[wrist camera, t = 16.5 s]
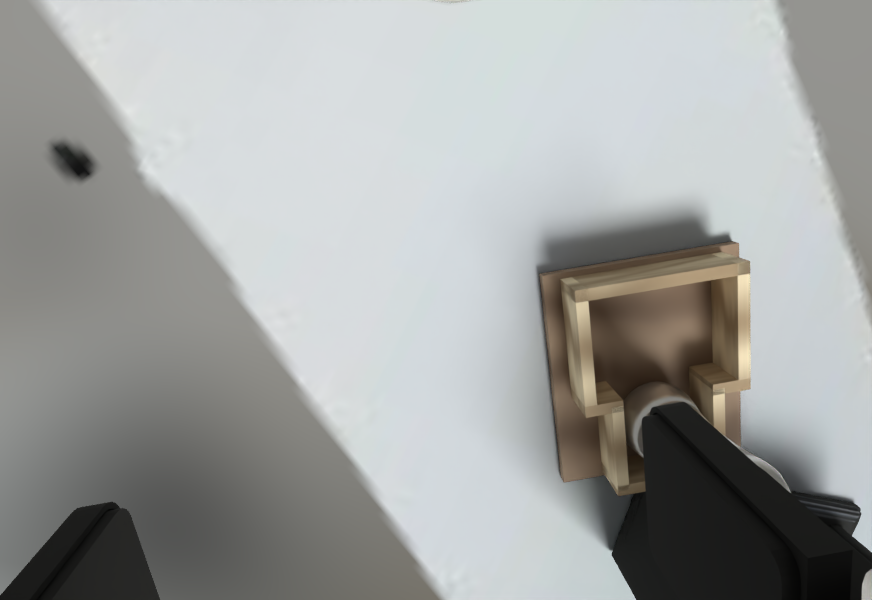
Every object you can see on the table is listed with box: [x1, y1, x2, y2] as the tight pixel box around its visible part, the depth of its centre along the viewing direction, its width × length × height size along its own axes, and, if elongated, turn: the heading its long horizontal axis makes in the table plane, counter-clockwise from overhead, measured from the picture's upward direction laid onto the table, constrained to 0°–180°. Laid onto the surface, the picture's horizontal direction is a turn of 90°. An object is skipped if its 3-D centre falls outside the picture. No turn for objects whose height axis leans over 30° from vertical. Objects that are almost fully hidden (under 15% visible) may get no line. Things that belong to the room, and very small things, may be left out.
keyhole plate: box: [539, 241, 750, 496], centre depth 50 cm, size 20×17×5 cm
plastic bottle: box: [623, 382, 791, 493], centre depth 43 cm, size 6×7×20 cm
